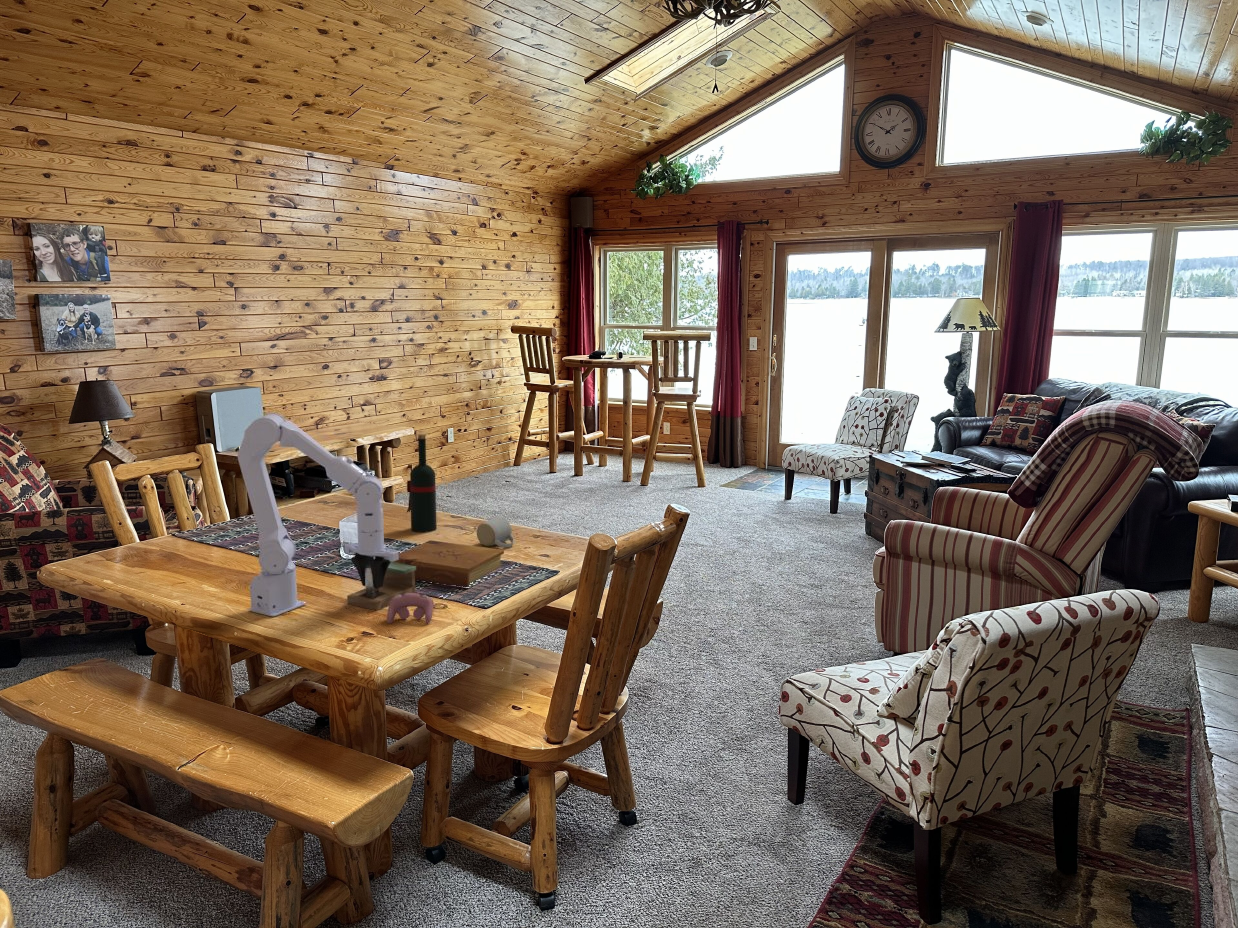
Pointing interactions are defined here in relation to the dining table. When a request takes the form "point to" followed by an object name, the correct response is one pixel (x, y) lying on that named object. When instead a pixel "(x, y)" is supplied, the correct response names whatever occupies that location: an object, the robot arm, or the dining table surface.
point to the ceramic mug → (495, 532)
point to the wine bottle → (422, 493)
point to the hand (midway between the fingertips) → (372, 586)
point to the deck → (387, 587)
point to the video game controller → (407, 600)
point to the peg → (370, 584)
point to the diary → (451, 562)
